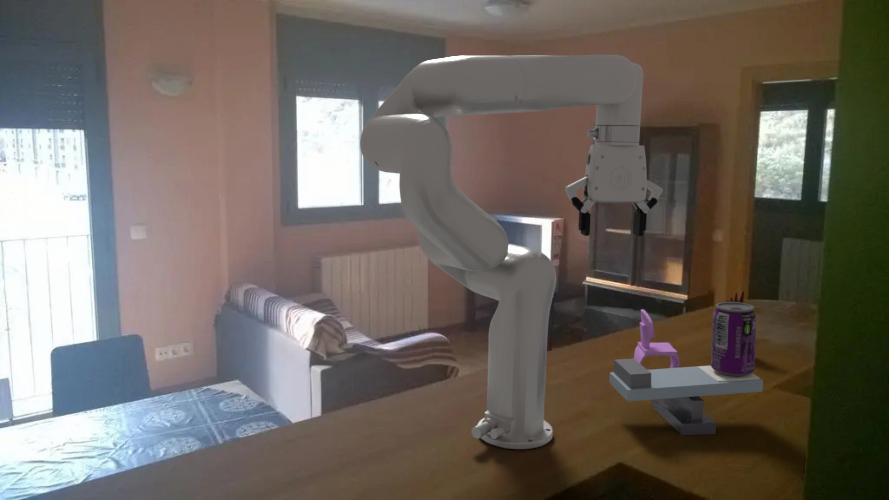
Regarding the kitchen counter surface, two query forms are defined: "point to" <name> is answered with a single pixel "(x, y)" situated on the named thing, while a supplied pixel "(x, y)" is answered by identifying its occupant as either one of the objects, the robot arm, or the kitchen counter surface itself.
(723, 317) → the beverage can
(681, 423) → the seesaw stand
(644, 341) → the toy chair
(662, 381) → the plank
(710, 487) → the kitchen counter surface
